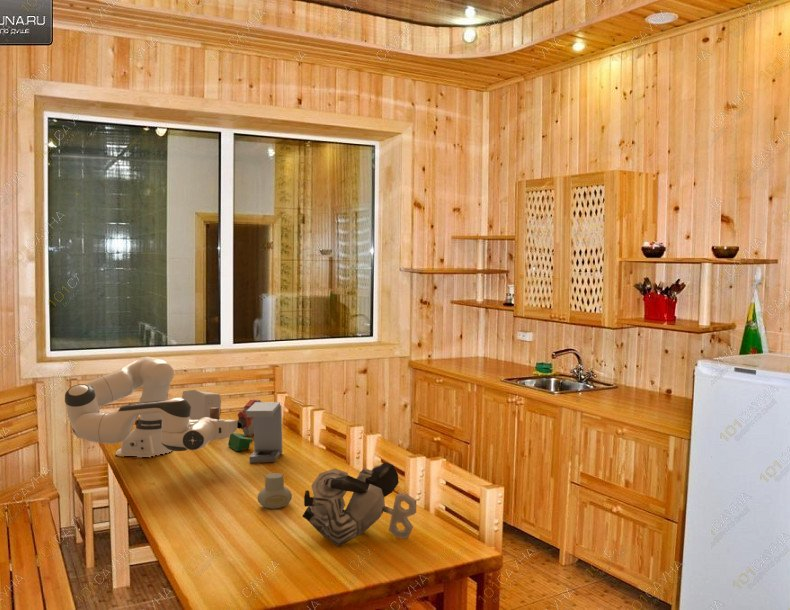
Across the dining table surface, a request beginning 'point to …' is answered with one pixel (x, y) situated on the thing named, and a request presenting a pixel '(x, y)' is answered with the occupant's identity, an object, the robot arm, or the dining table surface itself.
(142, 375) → the robot arm
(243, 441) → the clamp
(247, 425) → the toy gun
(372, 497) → the toy
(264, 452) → the socket
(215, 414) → the peg
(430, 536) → the dining table surface
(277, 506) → the air freshener
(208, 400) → the electrical switch box
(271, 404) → the gray cantilever bracket
